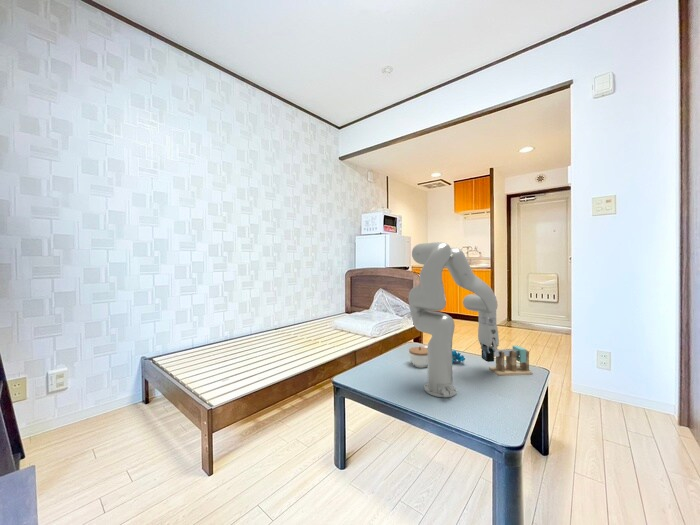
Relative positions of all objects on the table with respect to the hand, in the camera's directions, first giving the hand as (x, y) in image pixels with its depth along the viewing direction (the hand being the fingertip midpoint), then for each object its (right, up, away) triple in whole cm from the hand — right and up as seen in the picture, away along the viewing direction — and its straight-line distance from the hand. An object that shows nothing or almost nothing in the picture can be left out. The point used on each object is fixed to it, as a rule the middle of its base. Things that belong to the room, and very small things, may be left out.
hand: (487, 359), depth 133 cm
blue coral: (-11, -7, +14) cm, 19 cm away
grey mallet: (+8, 0, +1) cm, 9 cm away
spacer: (+15, +2, +1) cm, 16 cm away
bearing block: (+11, -6, +1) cm, 13 cm away
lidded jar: (-29, -7, +11) cm, 32 cm away
